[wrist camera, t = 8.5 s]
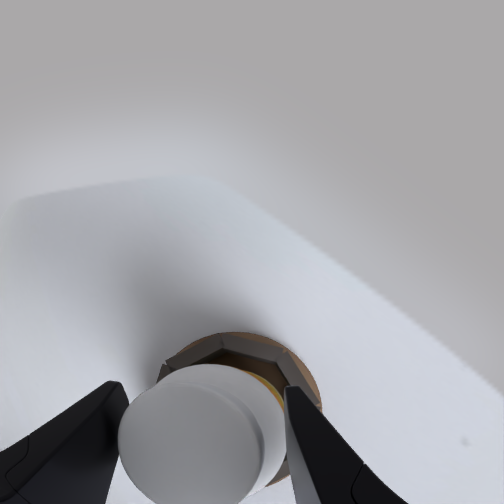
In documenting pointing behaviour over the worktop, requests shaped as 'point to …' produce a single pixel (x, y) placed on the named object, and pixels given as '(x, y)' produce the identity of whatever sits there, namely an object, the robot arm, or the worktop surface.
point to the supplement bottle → (203, 436)
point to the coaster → (249, 366)
